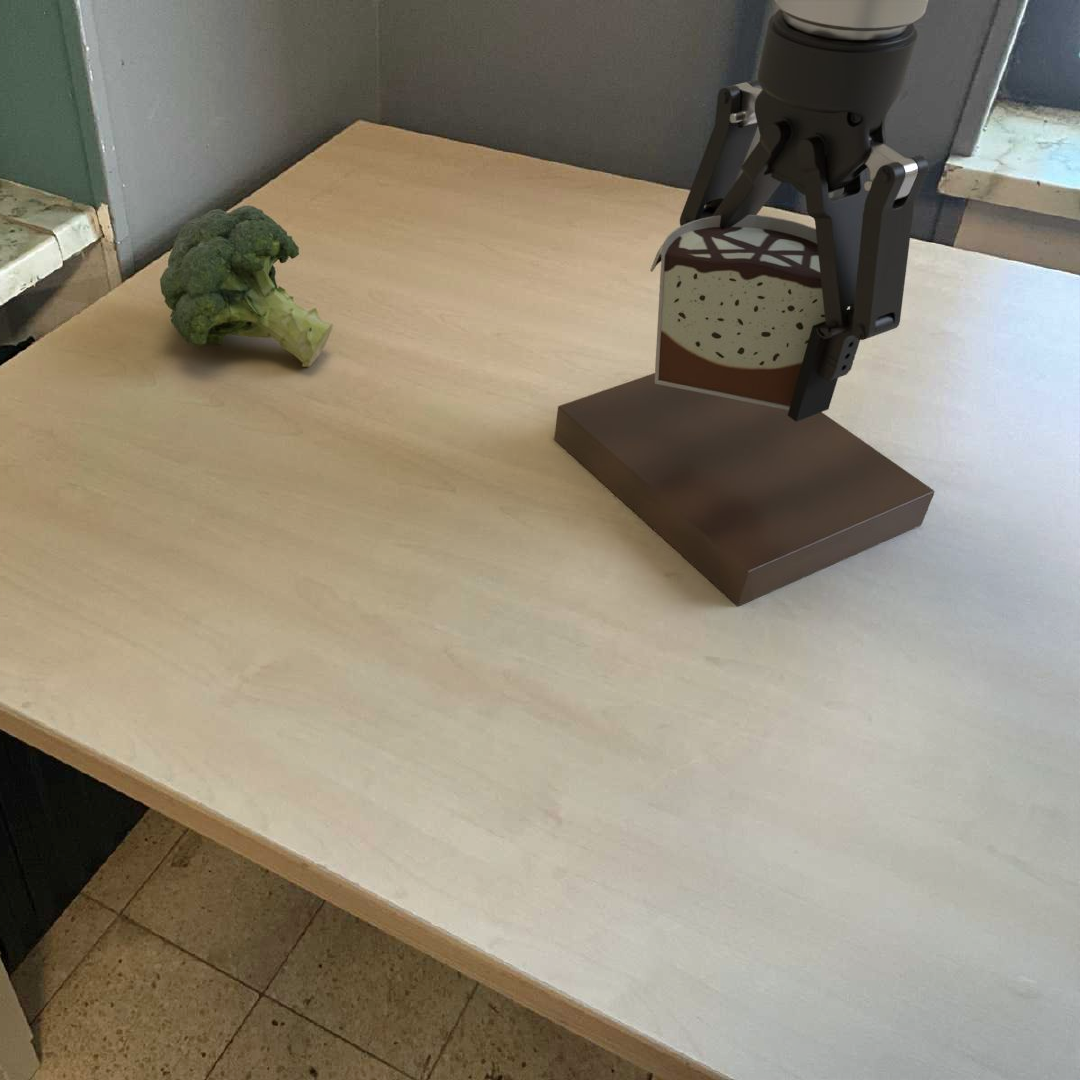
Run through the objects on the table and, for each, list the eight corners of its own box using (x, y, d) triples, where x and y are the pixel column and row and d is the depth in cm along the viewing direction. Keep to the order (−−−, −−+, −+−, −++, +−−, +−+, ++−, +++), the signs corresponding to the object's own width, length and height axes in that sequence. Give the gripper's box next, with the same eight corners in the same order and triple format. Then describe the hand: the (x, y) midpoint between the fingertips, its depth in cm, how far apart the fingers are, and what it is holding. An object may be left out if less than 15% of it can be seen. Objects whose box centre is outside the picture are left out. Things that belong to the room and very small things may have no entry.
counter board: (921, 525, 78) (935, 491, 76) (738, 606, 73) (747, 572, 71) (721, 379, 91) (729, 346, 89) (553, 439, 86) (557, 405, 84)
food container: (834, 366, 78) (876, 228, 71) (825, 417, 73) (869, 275, 67) (650, 332, 81) (673, 197, 74) (631, 379, 77) (654, 240, 70)
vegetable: (262, 399, 87) (109, 276, 87) (283, 421, 99) (150, 313, 100) (364, 272, 86) (210, 150, 87) (372, 310, 99) (238, 203, 100)
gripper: (657, -27, 67) (608, 314, 82) (960, 98, 53) (834, 483, 68) (757, -47, 70) (691, 288, 85) (1072, 67, 55) (926, 445, 70)
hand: (755, 374), depth 76 cm, fingers closed on food container, 9 cm apart
